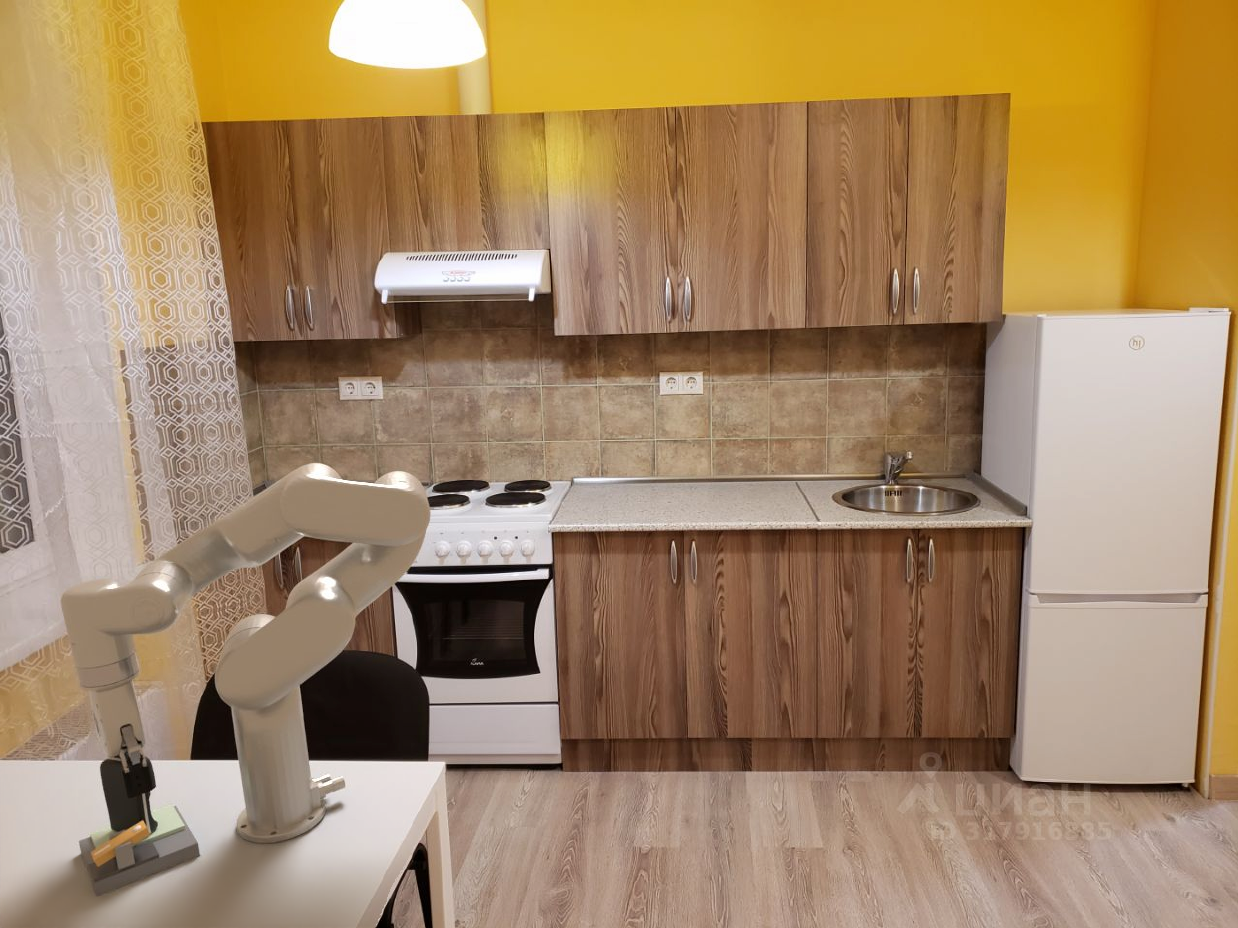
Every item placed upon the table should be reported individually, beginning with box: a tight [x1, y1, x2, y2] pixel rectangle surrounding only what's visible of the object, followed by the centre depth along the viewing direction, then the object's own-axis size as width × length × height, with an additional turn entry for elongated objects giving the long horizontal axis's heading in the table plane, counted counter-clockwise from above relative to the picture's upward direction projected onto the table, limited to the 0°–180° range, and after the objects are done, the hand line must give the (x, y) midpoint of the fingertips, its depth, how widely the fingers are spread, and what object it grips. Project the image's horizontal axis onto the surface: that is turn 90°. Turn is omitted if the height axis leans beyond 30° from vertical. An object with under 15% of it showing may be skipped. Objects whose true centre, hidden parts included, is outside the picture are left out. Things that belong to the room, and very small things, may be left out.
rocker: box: [91, 820, 150, 867], centre depth 127 cm, size 7×2×1 cm, turn 127°
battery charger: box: [99, 754, 158, 833], centre depth 133 cm, size 7×4×11 cm, turn 69°
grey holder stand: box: [78, 803, 201, 897], centre depth 132 cm, size 13×12×6 cm
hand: (133, 780), depth 133 cm, fingers open, 9 cm apart
